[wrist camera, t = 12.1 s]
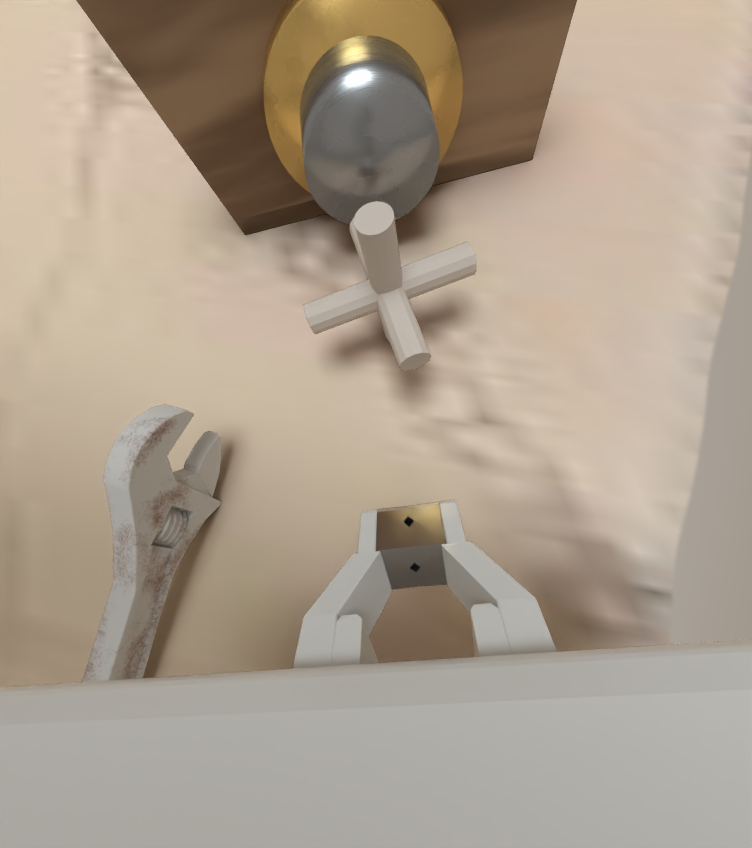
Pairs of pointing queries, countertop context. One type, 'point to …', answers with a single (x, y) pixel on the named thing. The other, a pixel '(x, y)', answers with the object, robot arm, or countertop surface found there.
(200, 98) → the board
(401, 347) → the pipe connector
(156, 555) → the wrench
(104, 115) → the countertop surface
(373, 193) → the door knob
